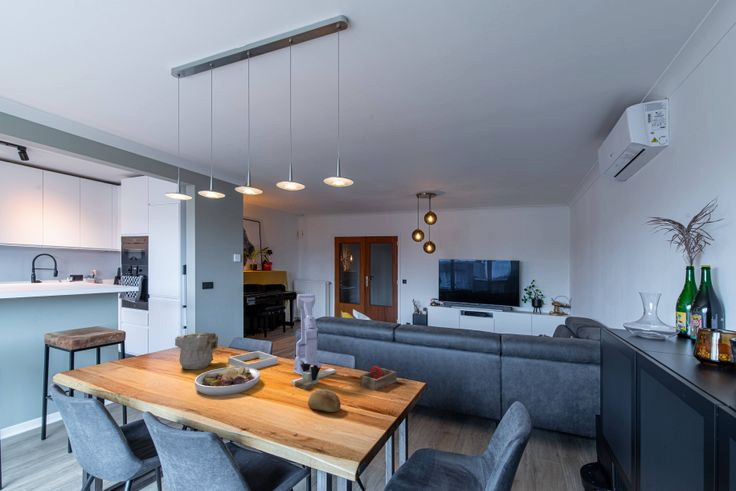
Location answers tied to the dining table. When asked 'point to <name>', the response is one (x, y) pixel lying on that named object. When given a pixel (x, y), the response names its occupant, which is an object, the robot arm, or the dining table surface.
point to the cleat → (303, 384)
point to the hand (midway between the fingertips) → (310, 378)
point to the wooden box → (379, 383)
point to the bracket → (378, 373)
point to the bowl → (227, 380)
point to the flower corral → (265, 357)
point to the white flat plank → (321, 374)
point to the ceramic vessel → (196, 349)
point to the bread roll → (324, 401)
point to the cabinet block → (309, 377)
